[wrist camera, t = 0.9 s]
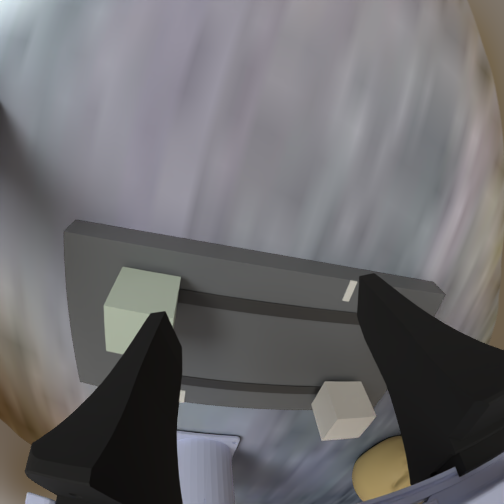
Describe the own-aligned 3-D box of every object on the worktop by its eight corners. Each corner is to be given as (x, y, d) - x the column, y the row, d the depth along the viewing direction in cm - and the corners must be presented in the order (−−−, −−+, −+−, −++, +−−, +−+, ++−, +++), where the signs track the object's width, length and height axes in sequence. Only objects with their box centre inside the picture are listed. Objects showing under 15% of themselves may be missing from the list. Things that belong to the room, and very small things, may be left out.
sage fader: (175, 316, 20) (168, 362, 16) (122, 306, 19) (106, 350, 16) (181, 274, 19) (173, 318, 15) (123, 264, 18) (103, 305, 14)
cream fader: (345, 401, 26) (358, 437, 23) (310, 402, 26) (321, 440, 22) (360, 379, 25) (376, 416, 21) (324, 379, 24) (337, 419, 21)
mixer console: (367, 393, 30) (374, 407, 28) (85, 365, 24) (79, 382, 23) (433, 281, 24) (446, 295, 22) (75, 219, 19) (62, 232, 17)
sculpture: (427, 434, 38) (452, 485, 29) (365, 470, 41) (382, 521, 32) (406, 417, 34) (436, 481, 24) (332, 459, 37) (350, 522, 27)
